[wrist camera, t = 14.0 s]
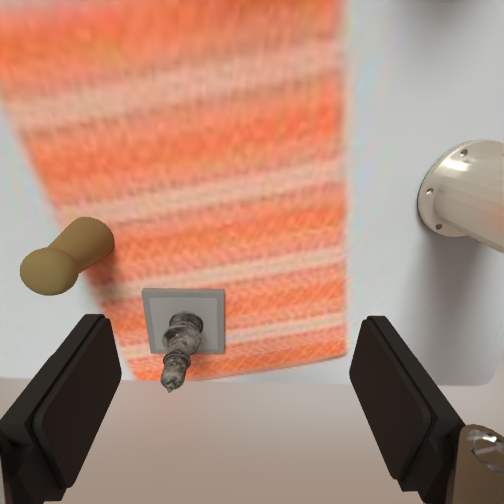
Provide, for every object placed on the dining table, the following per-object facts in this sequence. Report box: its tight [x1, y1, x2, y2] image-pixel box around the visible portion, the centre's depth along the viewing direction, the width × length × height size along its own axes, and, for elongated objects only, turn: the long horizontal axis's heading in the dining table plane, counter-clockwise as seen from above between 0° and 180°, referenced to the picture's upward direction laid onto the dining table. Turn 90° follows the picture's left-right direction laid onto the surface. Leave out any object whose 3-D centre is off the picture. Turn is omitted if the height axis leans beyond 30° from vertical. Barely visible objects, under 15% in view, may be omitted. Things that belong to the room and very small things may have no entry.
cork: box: [20, 217, 114, 296], centre depth 34 cm, size 6×6×11 cm
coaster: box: [142, 288, 224, 353], centre depth 45 cm, size 12×12×1 cm
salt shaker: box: [161, 311, 203, 393], centre depth 39 cm, size 6×6×12 cm
